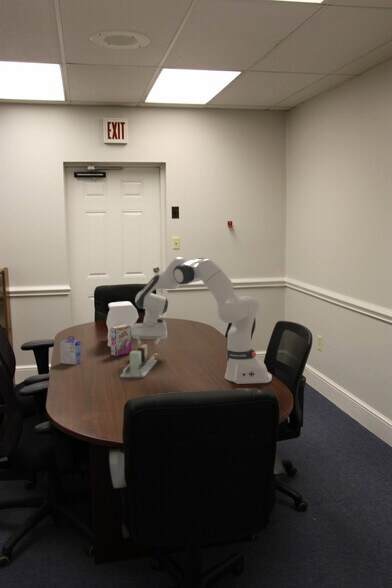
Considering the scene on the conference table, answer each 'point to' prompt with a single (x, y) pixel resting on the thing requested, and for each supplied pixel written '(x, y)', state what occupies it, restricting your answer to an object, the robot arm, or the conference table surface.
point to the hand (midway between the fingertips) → (147, 344)
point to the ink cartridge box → (70, 351)
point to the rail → (138, 366)
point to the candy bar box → (120, 340)
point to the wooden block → (143, 353)
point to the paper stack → (120, 316)
